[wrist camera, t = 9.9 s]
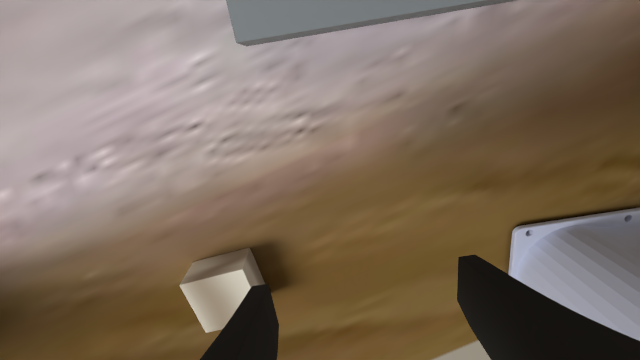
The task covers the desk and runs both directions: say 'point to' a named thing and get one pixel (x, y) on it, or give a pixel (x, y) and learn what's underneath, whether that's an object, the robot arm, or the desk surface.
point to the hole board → (327, 15)
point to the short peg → (220, 286)
